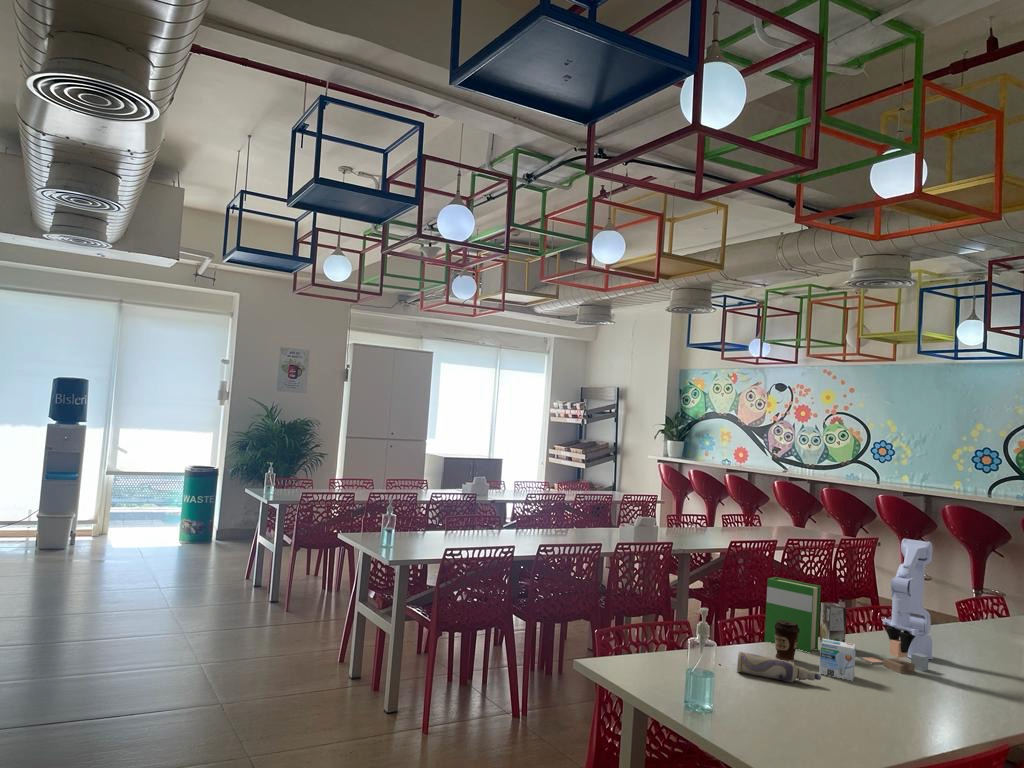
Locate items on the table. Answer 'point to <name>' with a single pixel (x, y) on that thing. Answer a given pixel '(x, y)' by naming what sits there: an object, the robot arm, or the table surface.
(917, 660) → the slate block
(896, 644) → the terracotta block
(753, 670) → the decorative bottle
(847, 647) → the light bulb box
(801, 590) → the hardback book
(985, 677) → the table surface
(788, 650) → the coffee cup
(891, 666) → the walnut slab
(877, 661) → the swatch
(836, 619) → the coffee box
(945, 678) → the table surface
